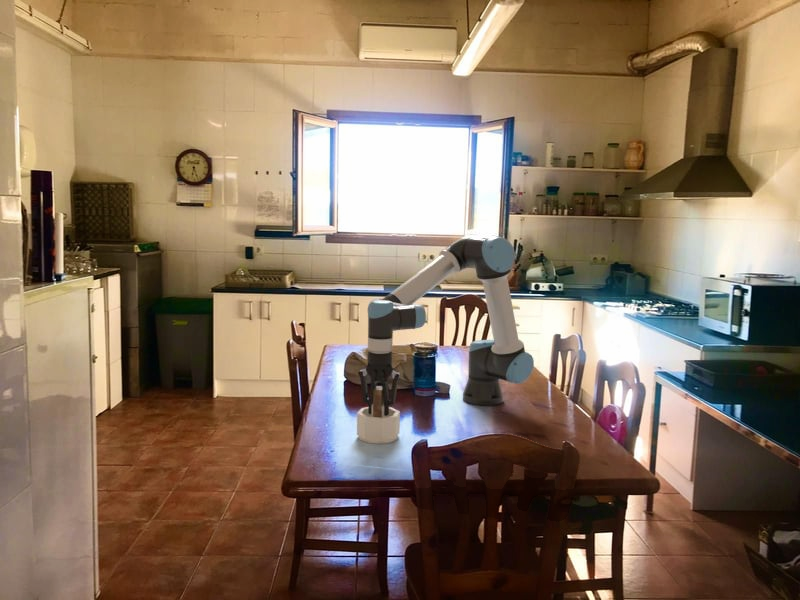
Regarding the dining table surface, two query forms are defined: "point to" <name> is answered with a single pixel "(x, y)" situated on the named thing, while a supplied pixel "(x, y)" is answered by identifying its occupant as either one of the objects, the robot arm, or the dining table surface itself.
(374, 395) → the brown rectangular block
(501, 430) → the dining table surface
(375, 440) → the white short hollow cylinder
